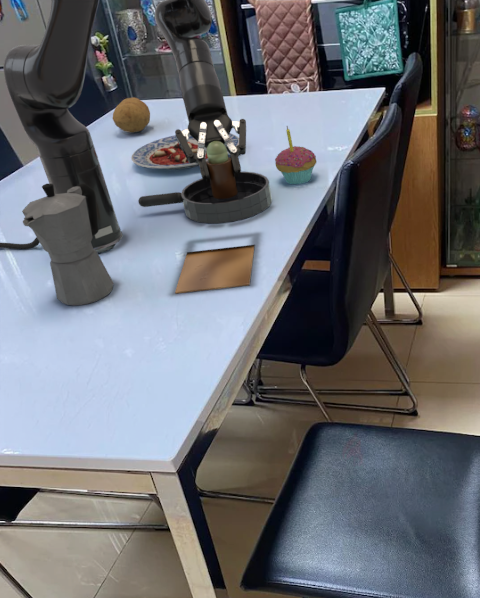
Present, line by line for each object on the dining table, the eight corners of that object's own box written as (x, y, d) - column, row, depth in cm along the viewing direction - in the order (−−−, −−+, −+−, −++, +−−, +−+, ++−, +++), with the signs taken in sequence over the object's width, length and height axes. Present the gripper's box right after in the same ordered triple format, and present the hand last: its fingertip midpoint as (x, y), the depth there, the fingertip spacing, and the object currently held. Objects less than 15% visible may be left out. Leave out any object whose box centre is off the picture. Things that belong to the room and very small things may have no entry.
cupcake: (313, 190, 144) (305, 128, 136) (273, 191, 145) (263, 130, 138) (322, 175, 150) (315, 115, 142) (284, 176, 152) (275, 117, 144)
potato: (154, 121, 197) (147, 90, 192) (153, 135, 187) (144, 103, 182) (119, 126, 197) (110, 96, 192) (116, 141, 186) (106, 109, 181)
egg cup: (212, 200, 136) (200, 146, 130) (214, 191, 140) (203, 138, 133) (236, 197, 136) (226, 143, 129) (238, 188, 139) (228, 136, 133)
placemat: (175, 293, 113) (175, 292, 113) (190, 242, 129) (190, 240, 129) (249, 285, 113) (249, 283, 113) (256, 234, 129) (255, 233, 128)
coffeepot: (84, 315, 110) (41, 202, 99) (37, 309, 114) (-9, 199, 102) (140, 271, 121) (108, 164, 110) (96, 266, 124) (60, 162, 113)
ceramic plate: (168, 185, 155) (164, 171, 153) (115, 163, 171) (111, 150, 169) (262, 151, 167) (260, 138, 165) (205, 134, 183) (202, 122, 181)
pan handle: (139, 209, 138) (136, 199, 136) (141, 205, 139) (138, 195, 138) (184, 203, 137) (182, 193, 136) (186, 200, 139) (183, 190, 138)
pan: (181, 231, 133) (175, 208, 130) (192, 198, 146) (187, 177, 144) (270, 221, 133) (266, 198, 130) (273, 189, 146) (270, 167, 143)
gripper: (162, 88, 131) (182, 174, 129) (238, 76, 133) (259, 160, 131) (167, 112, 138) (187, 193, 136) (239, 100, 140) (259, 180, 138)
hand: (222, 176), depth 134 cm, fingers closed on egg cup, 4 cm apart
